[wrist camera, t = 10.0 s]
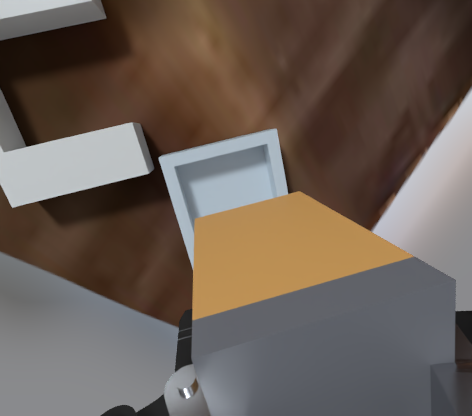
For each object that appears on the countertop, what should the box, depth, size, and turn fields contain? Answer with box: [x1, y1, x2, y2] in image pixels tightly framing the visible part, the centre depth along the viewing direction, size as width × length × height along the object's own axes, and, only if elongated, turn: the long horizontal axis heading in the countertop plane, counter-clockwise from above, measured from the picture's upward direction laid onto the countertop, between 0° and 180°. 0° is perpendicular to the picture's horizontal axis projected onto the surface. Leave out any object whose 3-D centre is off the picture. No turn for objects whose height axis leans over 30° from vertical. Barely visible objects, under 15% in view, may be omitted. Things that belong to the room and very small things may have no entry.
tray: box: [159, 129, 288, 268], centre depth 25 cm, size 10×12×2 cm
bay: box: [0, 0, 154, 207], centre depth 21 cm, size 11×16×3 cm
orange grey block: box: [191, 191, 456, 416], centre depth 10 cm, size 5×7×8 cm
